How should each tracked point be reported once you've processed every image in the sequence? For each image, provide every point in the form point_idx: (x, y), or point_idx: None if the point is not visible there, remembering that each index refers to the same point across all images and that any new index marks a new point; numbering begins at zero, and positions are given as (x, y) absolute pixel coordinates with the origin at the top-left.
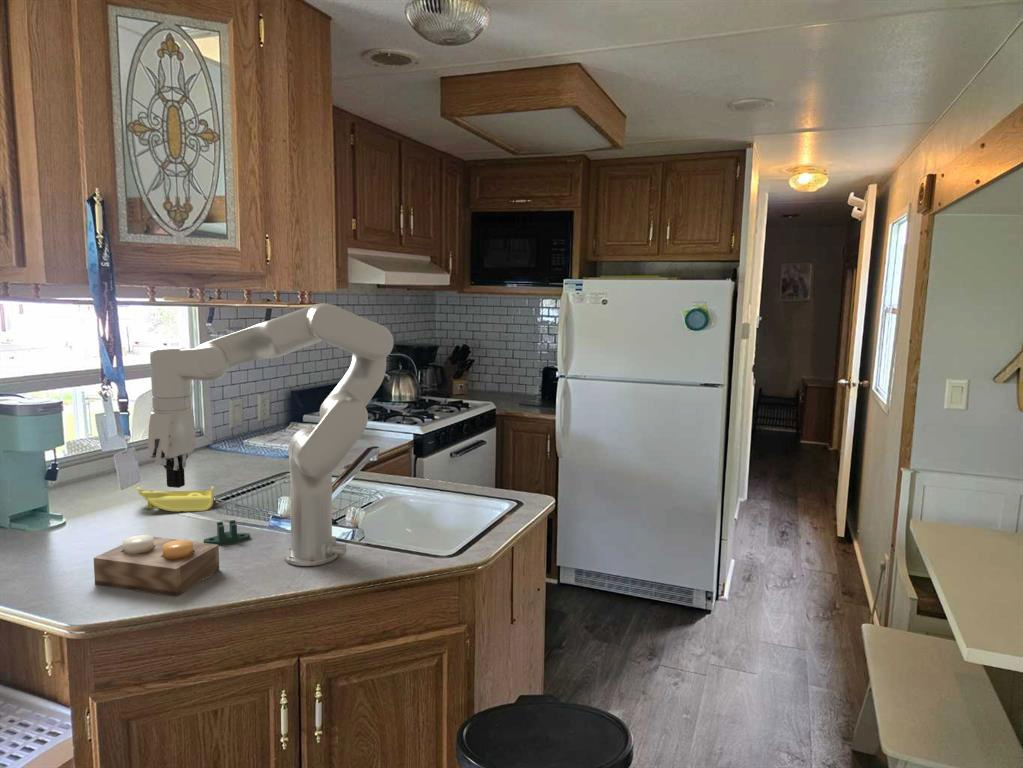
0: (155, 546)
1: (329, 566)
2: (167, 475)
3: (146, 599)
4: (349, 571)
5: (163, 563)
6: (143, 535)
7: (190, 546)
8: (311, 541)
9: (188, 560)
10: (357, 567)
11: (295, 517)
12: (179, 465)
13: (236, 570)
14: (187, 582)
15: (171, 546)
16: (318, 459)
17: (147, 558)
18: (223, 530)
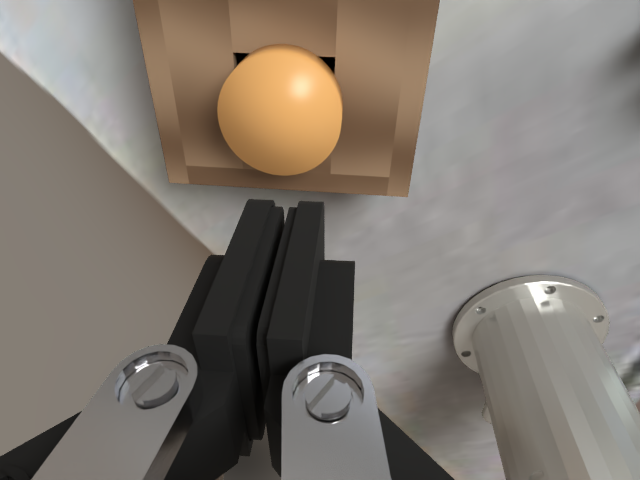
0: None
1: (461, 371)
2: (222, 278)
3: (145, 65)
4: (438, 403)
5: (185, 112)
6: None
7: (284, 175)
8: (484, 393)
9: (242, 180)
10: (461, 410)
11: (513, 429)
12: (279, 472)
13: (406, 199)
14: None
15: (255, 104)
16: None
17: (195, 10)
18: None
